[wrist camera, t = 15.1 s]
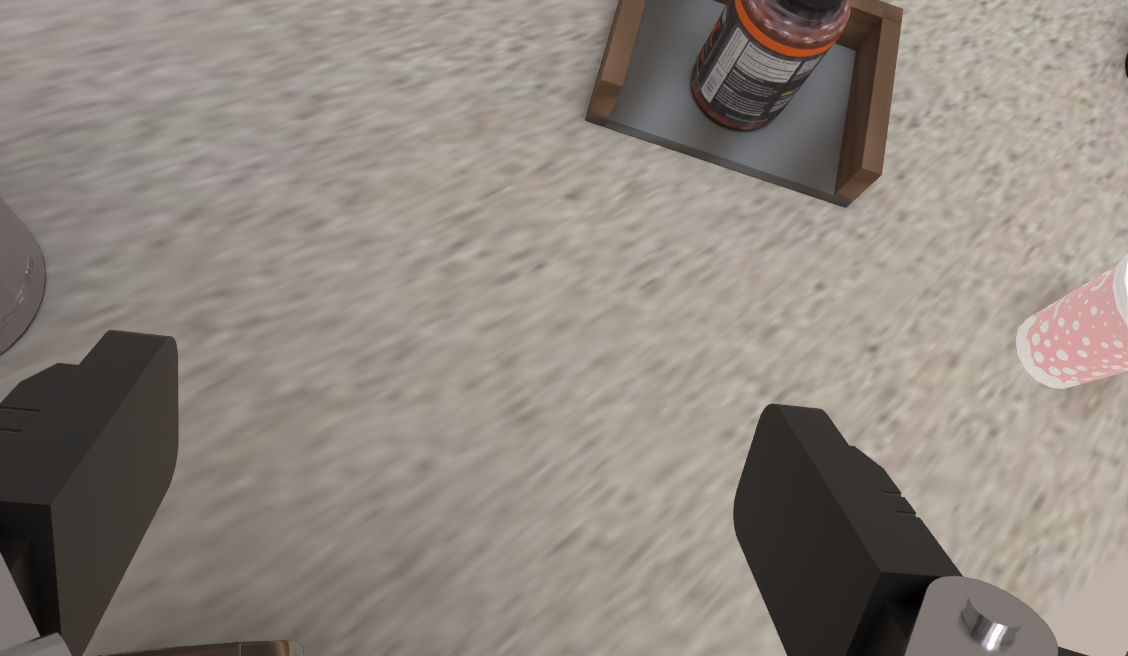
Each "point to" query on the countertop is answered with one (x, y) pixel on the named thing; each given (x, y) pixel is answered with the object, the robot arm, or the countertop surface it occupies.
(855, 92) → the frame
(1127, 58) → the coffee mug
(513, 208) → the countertop surface
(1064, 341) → the beverage cup
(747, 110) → the supplement bottle
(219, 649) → the coffee box
